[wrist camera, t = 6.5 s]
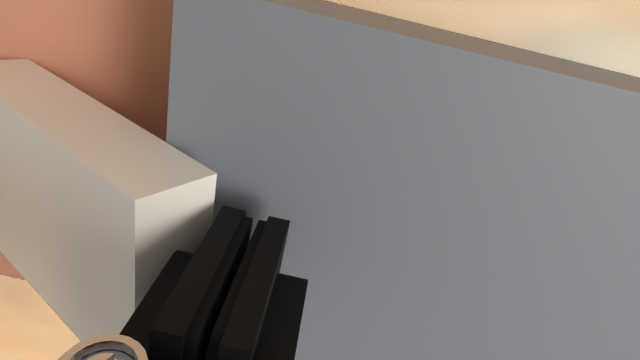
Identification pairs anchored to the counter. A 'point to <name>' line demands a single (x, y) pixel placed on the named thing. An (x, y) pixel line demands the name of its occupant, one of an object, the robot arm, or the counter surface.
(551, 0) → the counter surface
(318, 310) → the grey block
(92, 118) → the tile
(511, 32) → the counter surface
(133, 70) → the mat
